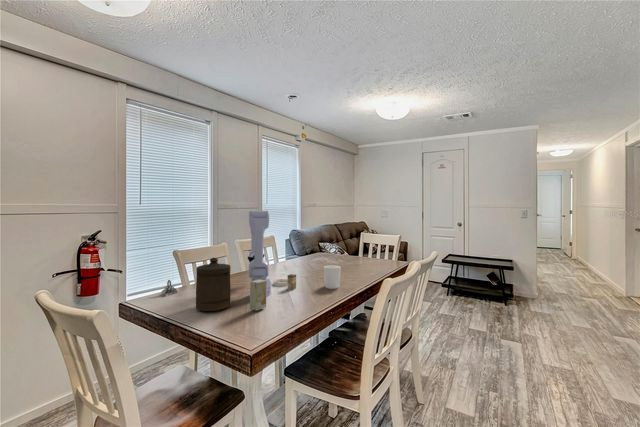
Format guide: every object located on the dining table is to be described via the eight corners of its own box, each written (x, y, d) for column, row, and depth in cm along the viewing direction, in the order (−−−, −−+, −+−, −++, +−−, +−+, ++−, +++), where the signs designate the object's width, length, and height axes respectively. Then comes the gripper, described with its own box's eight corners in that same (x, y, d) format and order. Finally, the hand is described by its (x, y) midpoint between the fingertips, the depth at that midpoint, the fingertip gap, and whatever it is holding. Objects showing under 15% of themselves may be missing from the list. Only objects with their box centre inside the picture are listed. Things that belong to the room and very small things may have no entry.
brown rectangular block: (296, 289, 164) (296, 274, 164) (293, 290, 161) (293, 276, 161) (290, 288, 166) (290, 274, 166) (287, 289, 162) (287, 275, 162)
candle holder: (320, 288, 164) (321, 267, 164) (327, 284, 173) (327, 264, 173) (337, 290, 161) (337, 268, 161) (343, 286, 170) (343, 265, 170)
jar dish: (291, 283, 176) (291, 279, 176) (286, 287, 168) (286, 283, 168) (277, 282, 179) (277, 278, 179) (271, 286, 170) (271, 282, 170)
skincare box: (256, 311, 127) (256, 282, 127) (249, 309, 130) (249, 281, 130) (266, 307, 133) (266, 280, 133) (259, 305, 135) (259, 278, 135)
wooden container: (236, 302, 140) (236, 256, 140) (219, 312, 126) (219, 261, 125) (208, 300, 143) (208, 255, 143) (188, 310, 129) (188, 259, 128)
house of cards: (170, 290, 162) (170, 276, 162) (180, 292, 157) (180, 278, 157) (154, 294, 154) (154, 280, 154) (165, 297, 149) (165, 281, 149)
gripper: (255, 243, 179) (255, 265, 180) (244, 245, 165) (244, 269, 165) (266, 243, 178) (266, 265, 178) (255, 246, 164) (255, 270, 164)
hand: (256, 267), depth 172 cm, fingers open, 7 cm apart
